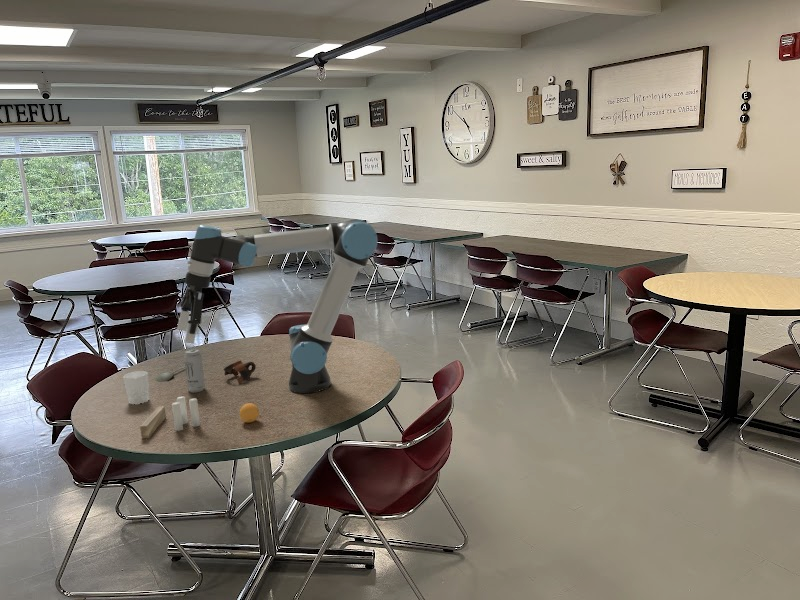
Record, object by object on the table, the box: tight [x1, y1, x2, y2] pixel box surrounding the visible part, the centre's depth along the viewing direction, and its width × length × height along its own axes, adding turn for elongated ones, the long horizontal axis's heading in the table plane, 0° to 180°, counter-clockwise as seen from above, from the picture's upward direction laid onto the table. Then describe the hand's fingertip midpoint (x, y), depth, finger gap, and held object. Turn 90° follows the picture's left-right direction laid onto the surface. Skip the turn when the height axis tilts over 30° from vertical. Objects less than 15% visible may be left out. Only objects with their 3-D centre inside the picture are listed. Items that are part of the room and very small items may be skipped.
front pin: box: [188, 397, 201, 428], centre depth 190 cm, size 2×2×8 cm
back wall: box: [139, 405, 167, 439], centre depth 190 cm, size 2×16×4 cm, turn 3°
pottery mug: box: [223, 360, 257, 384], centre depth 233 cm, size 12×10×8 cm
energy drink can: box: [183, 348, 206, 393], centre depth 221 cm, size 6×6×15 cm
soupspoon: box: [155, 365, 185, 383], centre depth 244 cm, size 22×3×7 cm
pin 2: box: [171, 401, 184, 432], centre depth 187 cm, size 2×2×8 cm
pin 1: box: [176, 396, 189, 425], centre depth 192 cm, size 2×2×8 cm
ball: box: [239, 402, 260, 424], centre depth 191 cm, size 6×6×6 cm
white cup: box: [123, 370, 150, 405], centre depth 213 cm, size 8×8×10 cm
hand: (185, 336), depth 196 cm, fingers open, 13 cm apart
